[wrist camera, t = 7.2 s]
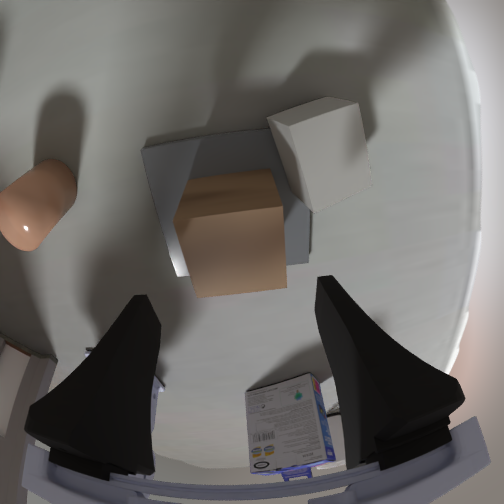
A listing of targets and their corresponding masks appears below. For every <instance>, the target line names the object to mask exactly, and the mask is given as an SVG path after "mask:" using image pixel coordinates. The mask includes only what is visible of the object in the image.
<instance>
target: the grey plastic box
mask: <svg viewBox="0 0 504 504" xmlns="http://www.w3.org/2000/svg"><path fill="white" fill-rule="evenodd" d="M266 118H267V121H268V124H269V126H270V129H271V132H272V135H273V138H274V140H275V143H276V146H277V149H278V152H279V155H280V158H281V161H282V164H283V167H284V170H285V173H286V176H287V179H288V182H289V185H290V188H291V192H292V193H293V194H294V195H295V196H296V197H297V198H299V199H300V200H301V201H302V202H303V203H304V204H305V205H306V206H307V207H308V208H309V209H310V210H311V211H312V212H313V213H314V214H315V213H317V212H319V211H321V210H323V209H325V208H327V207H329V206H331V205H333V204H335V203H337V202H339V201H342V200H344V199H346V198H348V197H350V196H352V195H354V194H356V193H358V192H360V191H362V190H364V189H367V188H369V187H371V186H372V178H371V171H370V164H369V157H368V150H367V144H366V138H365V133H364V128H363V122H362V117H361V113H360V108H359V103H357V102H353V101H348V100H344V99H339V98H333V97H328V96H327V97H324V98H321V99H317V100H314V101H311V102H308V103H305V104H302V105H299V106H296V107H293V108H291V109H288V110H285V111H282V112H280V113H277V114H274V115H272V116H269V117H266Z"/></svg>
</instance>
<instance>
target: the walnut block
mask: <svg viewBox="0 0 504 504" xmlns="http://www.w3.org/2000/svg"><path fill="white" fill-rule="evenodd" d="M173 224H174V227H175V231H176V234H177V237H178V241H179V244H180V247H181V250H182V253H183V257H184V260H185V263H186V266H187V269H188V272H189V275H190V278H191V281H192V284H193V287H194V290H195V293H196V295H197V298H203V297H213V296H222V295H231V294H240V293H249V292H257V291H265V290H273V289H281V288H287V275H286V253H285V233H284V216H283V205H282V202H281V199H280V196H279V193H278V190H277V187H276V184H275V181H274V178H273V175H272V173H271V170H270V168H269V169H260V170H252V171H244V172H236V173H229V174H222V175H215V176H209V177H202V178H196V179H190V180H188V181H187V184H186V187H185V189H184V192H183V194H182V197H181V200H180V202H179V205H178V208H177V210H176V213H175V216H174V219H173Z"/></svg>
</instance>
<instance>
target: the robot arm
mask: <svg viewBox="0 0 504 504" xmlns="http://www.w3.org/2000/svg"><path fill="white" fill-rule="evenodd" d="M315 315H316V320H317V325H318V330H319V333H320V336H321V339H322V343H323V346H324V349H325V352H326V355H327V358H328V361H329V364H330V367H331V370H332V373H333V377H334V381H335V385H336V391H337V396H338V401H339V407H340V414H341V420H342V428H343V436H344V447H345V459H346V467H347V470H346V471H341V472H337V473H332V474H328V475H323V476H318V477H312V478H306V479H300V480H293V481H285V482H276V483H266V484H251V485H196V484H181V483H171V482H162V481H155V480H153V478H154V474H155V454H154V451H153V450H152V439H151V433H152V431H153V429H154V424H155V415H156V407H157V398H158V391H160V392H163V391H165V388H164V387H163V385H162V384H161V383H160V382H159V380H158V379H157V378H156V376H155V370H156V364H157V359H158V353H159V348H160V337H161V324H160V322H159V320H158V318H157V315H156V313H155V311H154V309H153V307H152V305H151V303H150V301H149V299H148V297H147V295H134V296H133V297H132V299H131V300H130V301H129V303H128V304H127V305H126V307H125V308H124V310H123V311H122V312H121V314H120V315H119V316H118V318H117V319H116V321H115V322H114V323H113V325H112V326H111V327H110V329H109V330H108V331H107V333H106V334H105V335H104V337H103V338H102V339H101V340H100V342H99V343H98V344H97V346H96V347H95V348H94V349H93V351H86V352H85V356H86V357H87V358H86V359H85V360H84V361H83V362H82V363H81V364H80V365H79V366H78V367H77V368H76V369H75V370H74V371H73V372H72V373H71V374H70V375H69V376H68V377H67V378H66V379H65V380H64V381H63V382H61V383H60V384H59V385H58V386H57V387H55V388H54V389H53V390H52V391H50V392H49V393H48V394H46V395H45V396H44V397H42V398H41V399H39V400H38V401H36V402H35V403H33V404H32V405H30V407H29V411H28V414H27V418H26V422H25V426H24V430H25V432H26V433H27V434H29V435H30V436H32V437H33V438H35V439H37V440H39V441H40V442H42V443H44V444H46V445H47V446H49V447H51V448H50V452H49V451H47V450H44V449H42V448H40V447H37V446H35V445H33V444H30V443H29V444H28V447H27V452H26V457H25V463H24V470H23V477H22V487H24V488H26V489H27V490H29V491H31V492H33V493H34V494H36V495H38V496H40V497H41V498H43V499H45V500H47V501H48V502H50V503H52V504H180V503H171V502H164V501H157V500H151V499H148V497H149V495H150V494H153V495H159V496H167V497H175V498H186V499H198V500H199V499H200V500H257V499H270V498H281V497H288V496H296V495H303V494H309V493H315V492H320V491H325V490H330V489H335V488H339V487H343V486H347V485H349V486H348V487H347V488H346V490H345V491H344V492H342V493H338V494H334V495H329V496H324V497H319V498H314V499H309V500H308V504H429V503H431V502H433V501H434V500H436V499H437V498H439V497H441V496H442V495H444V494H446V493H447V492H449V491H451V490H452V489H453V488H455V487H457V486H458V485H460V484H461V483H463V482H464V481H466V480H467V479H469V478H470V477H472V476H473V475H475V474H476V473H478V472H479V471H481V470H482V469H484V468H485V467H486V466H488V465H489V464H490V463H491V460H490V457H489V453H488V450H487V447H486V443H485V440H484V437H483V435H482V431H481V428H480V426H479V423H478V420H477V417H475V416H474V417H472V418H470V419H469V420H467V421H465V422H463V423H461V424H460V425H458V426H456V427H454V428H453V429H451V430H449V428H448V425H449V424H450V419H449V415H450V414H451V413H452V412H454V411H455V410H456V409H457V408H458V407H460V406H461V405H462V404H463V402H464V401H465V396H464V394H463V391H462V389H461V386H460V384H459V382H458V380H457V379H456V378H454V377H452V376H450V375H448V374H446V373H444V372H442V371H440V370H438V369H436V368H434V367H433V366H431V365H429V364H428V363H426V362H424V361H423V360H421V359H420V358H418V357H417V356H415V355H414V354H412V353H411V352H409V351H408V350H407V349H405V348H404V347H403V346H401V345H400V344H399V343H397V342H396V341H395V340H394V339H393V338H391V337H390V336H389V335H388V334H387V333H386V332H384V331H383V330H382V329H381V328H380V327H379V326H378V325H377V324H376V323H375V322H374V321H373V320H372V319H371V318H370V317H369V316H368V315H367V314H366V313H365V312H364V311H363V310H362V309H361V308H360V307H359V306H358V305H357V303H356V302H355V301H354V300H353V299H352V298H351V297H350V296H349V294H348V293H347V292H346V291H345V290H344V289H343V287H342V286H341V285H340V284H339V283H338V281H337V280H336V279H335V278H334V277H333V276H332V275H329V276H321V277H317V289H316V300H315Z"/></svg>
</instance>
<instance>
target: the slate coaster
mask: <svg viewBox="0 0 504 504" xmlns="http://www.w3.org/2000/svg"><path fill="white" fill-rule="evenodd" d="M141 154H142V158H143V162H144V166H145V170H146V174H147V178H148V182H149V185H150V189H151V193H152V196H153V200H154V204H155V207H156V211H157V214H158V218H159V221H160V224H161V228H162V231H163V234H164V237H165V241H166V244H167V247H168V250H169V253H170V256H171V259H172V262H173V265H174V268H175V271H176V274H177V277H180V276H190V275H189V272H188V269H187V266H186V263H185V260H184V257H183V253H182V250H181V247H180V244H179V241H178V237H177V234H176V231H175V227H174V224H173V219H174V216H175V213H176V210H177V208H178V205H179V202H180V200H181V197H182V194H183V192H184V189H185V187H186V184H187V181H188V180H190V179H196V178H202V177H209V176H215V175H222V174H229V173H236V172H244V171H252V170H260V169H269V168H270V170H271V173H272V175H273V178H274V181H275V184H276V187H277V190H278V193H279V196H280V199H281V202H282V205H283V216H284V233H285V253H286V265H294V264H303V263H308V262H309V235H310V209H309V208H308V207H307V206H306V205H305V204H304V203H303V202H302V201H301V200H300V199H299V198H297V197H296V196H295V195H294V194H293V193H292V192H291V188H290V185H289V182H288V179H287V176H286V173H285V170H284V167H283V164H282V161H281V158H280V155H279V152H278V149H277V146H276V143H275V140H274V138H273V135H272V132H271V129H270V128H269V129H258V130H247V131H238V132H230V133H222V134H214V135H208V136H201V137H195V138H189V139H183V140H177V141H172V142H167V143H162V144H157V145H152V146H148V147H143V148H142V149H141Z"/></svg>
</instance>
